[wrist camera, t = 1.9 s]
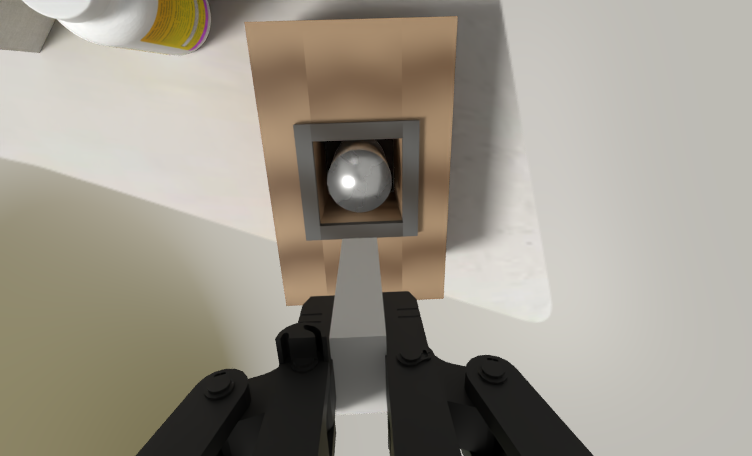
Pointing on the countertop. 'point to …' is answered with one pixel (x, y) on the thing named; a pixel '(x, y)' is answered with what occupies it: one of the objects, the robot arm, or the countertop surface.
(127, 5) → the supplement bottle
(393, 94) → the socket block
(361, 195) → the peg
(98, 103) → the countertop surface
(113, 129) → the countertop surface
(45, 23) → the grey boxy piece
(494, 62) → the countertop surface
